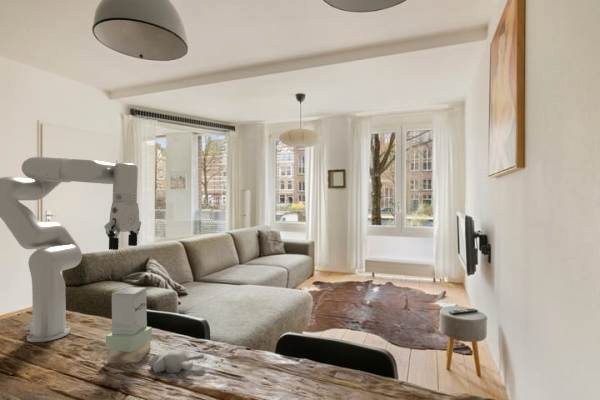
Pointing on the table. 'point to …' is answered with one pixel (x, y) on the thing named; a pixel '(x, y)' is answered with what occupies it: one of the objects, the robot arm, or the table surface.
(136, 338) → the block top
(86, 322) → the table surface
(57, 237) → the robot arm
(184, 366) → the bunny figurine
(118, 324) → the supplement box
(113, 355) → the block bottom
